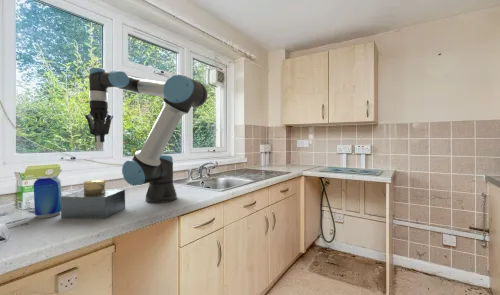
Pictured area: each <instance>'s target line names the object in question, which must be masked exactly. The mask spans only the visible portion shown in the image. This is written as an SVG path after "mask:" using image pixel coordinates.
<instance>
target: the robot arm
mask: <svg viewBox="0 0 500 295" xmlns="http://www.w3.org/2000/svg"><path fill="white" fill-rule="evenodd" d="M88 85H89V86H88V87H89V88H88V89H89V92H88V94H89V100H90V101H89V109H90V111H89V114H85V115H84V118H86V122H87V124H88V129H89V133H90V135H93V136H94V142H95V143H96V150H104V143H105V136H106V135H109V132H110V128H111V124H112V119H113V118H114V115H112V114H110V113H109V111H108V109H109V102H108V95H109V94H108V89H118V90H123V91H128V92H131V93H135V94H140V95H141V94H143V95H147V96H153V97H158V98H159V97H160V98H163V99H162V103H163V106H162V109H161V111H160V113H159V115H158V117H157V118H156V120H155V123H154V125H153V126H152V128H151V130H150V132H149V134H148V136H147V138H146V140H145V141H144V144H143V146H142V147H141V150H137V151H136V152H135V154H134V155H133V157H132V158H131V159H128V160H126V161H125V162H124V163H123V165H122V168H121V173H122V177H123V179H124V181H126V183H127V184H129V185H130V186H142V185H146V184H148V188H147V190H146V194H145V202H147V203H149V204H151V203H152V204H161V203H167V202H172V201H175V200H176V199H177V196H178V194H177V190H176V188H175V185H174V161H173V157H172V156H171V155H166V154H163V152H164V151H165V150H166V149H165V148H166V147H167V145H168V143H169V142H170V139H171V138H172V136H173V133H174V132H175V130H176V128H177V126H179V123H180V121H181V119H182V118H183V115H186V114H189V112H190V111H191V108H197V107H202V106H203V105H204V104H206V101H207V99H208V90H207V88H206V86H205V85H204V84H203V83H201V82H200V81H197V80H195V79H193V78H191V77H188V76H186V75H181V74H173V75H171V76H170V77H168V78H167V79H166V80H165V81H159V80H151V79H144V78H139V77H133V76H131V75H128V74H127V73H126V72H125V71H123V70H112V71H110V70H109V71H107V69H105V68H102V67H90V68H88Z"/></svg>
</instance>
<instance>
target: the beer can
mask: <svg viewBox="0 0 500 295" xmlns="http://www.w3.org/2000/svg"><path fill="white" fill-rule="evenodd" d="M61 182H62V181H61V180H60V179H59V178H58V175H42V176H36V179H35V181H34V182H33V200H34V201H33V202H34V205H33V207H34V215H35V216H36V217H37V218H38V219H45V218H52V217H55V216H58V215H60V214H61V197H62V184H61Z"/></svg>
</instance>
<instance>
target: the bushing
mask: <svg viewBox="0 0 500 295" xmlns="http://www.w3.org/2000/svg"><path fill="white" fill-rule="evenodd" d="M105 189H106V180H105V179H91V180H86V181H83V190H84V195H97V194H102V193H105Z"/></svg>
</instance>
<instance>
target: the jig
mask: <svg viewBox="0 0 500 295" xmlns="http://www.w3.org/2000/svg"><path fill="white" fill-rule="evenodd" d="M125 209H126V190H125V189H109V188H108V189H106V188H105V193H102V194H97V195H84V189H83V190H79V191H75V192H72V193H69V194H65V195H61V212H60V219H95V220H96V219H101V220H103V219H104V220H105V219H107V218H109V217H111V216H113V215H115V214H116V213H119V212H121V211H122V210H125Z"/></svg>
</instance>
